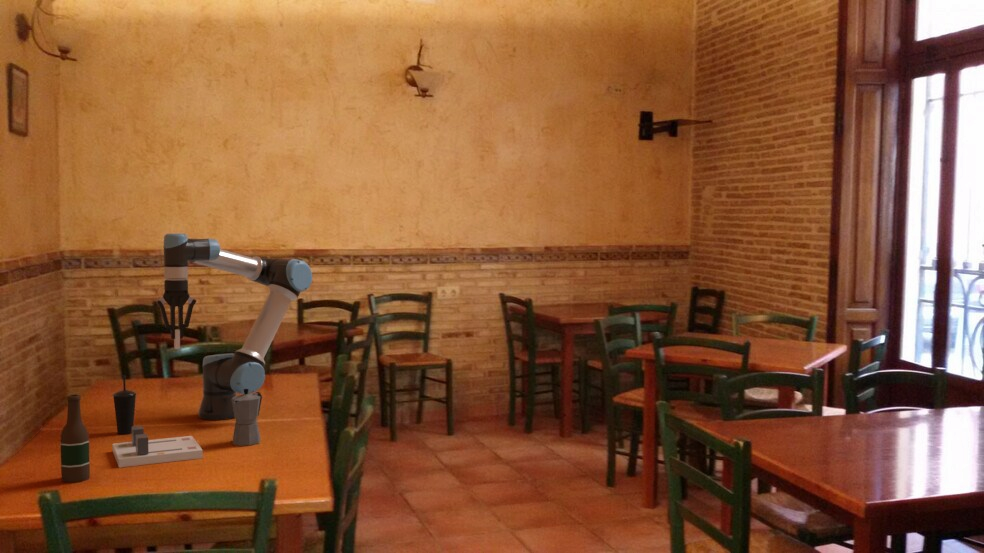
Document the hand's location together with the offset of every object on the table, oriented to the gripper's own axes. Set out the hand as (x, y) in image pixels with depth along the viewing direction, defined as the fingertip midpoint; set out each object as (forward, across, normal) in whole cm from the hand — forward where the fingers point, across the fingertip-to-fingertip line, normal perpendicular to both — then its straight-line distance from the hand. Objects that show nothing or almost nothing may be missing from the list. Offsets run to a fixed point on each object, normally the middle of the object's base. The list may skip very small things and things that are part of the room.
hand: (177, 348), depth 306 cm
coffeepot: (+30, -19, +21) cm, 41 cm away
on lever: (+27, +15, +19) cm, 36 cm away
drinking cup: (+30, +16, -9) cm, 35 cm away
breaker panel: (+29, +10, +25) cm, 40 cm away
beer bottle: (+30, +34, +42) cm, 62 cm away
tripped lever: (+27, +15, +31) cm, 44 cm away
